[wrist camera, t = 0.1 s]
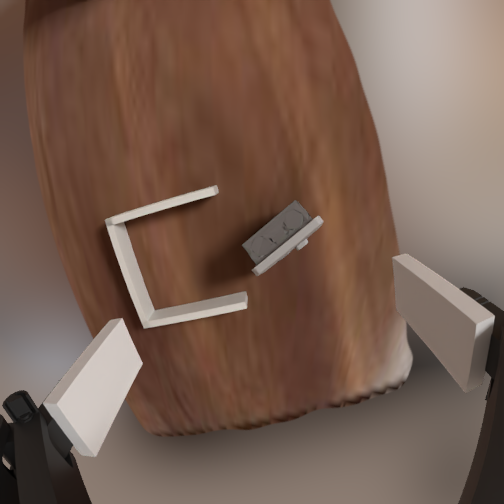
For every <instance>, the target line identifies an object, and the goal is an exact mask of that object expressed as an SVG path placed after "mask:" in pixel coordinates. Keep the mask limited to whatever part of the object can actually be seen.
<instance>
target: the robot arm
mask: <svg viewBox="0 0 504 504" xmlns="http://www.w3.org/2000/svg"><path fill="white" fill-rule="evenodd" d="M392 260H393V271H394V283H395V297H396V310H397V311H398V312H399V314H400V315H401V316H402V317H403V318H404V319H405V320H406V322H407V323H408V324H409V325H410V326H411V327H412V329H413V330H414V331H415V332H416V333H417V334H418V336H419V337H420V338H421V339H422V340H423V341H424V342H425V344H426V345H427V346H428V347H429V349H430V350H431V351H432V352H433V353H434V355H435V356H436V357H437V358H438V359H439V361H440V362H441V363H442V364H443V366H444V367H445V368H446V369H447V371H448V372H449V373H450V374H451V376H452V377H453V378H454V379H455V381H456V382H457V383H458V384H459V386H460V387H461V388H462V390H463V391H464V392H468V391H470V390H472V389H474V388H476V387H478V386H480V385H482V383H483V379H484V374H485V371H486V372H487V373H488V374H489V375H490V376H491V381H490V384H489V389H488V392H487V395H486V399H485V400H487V403H486V409H485V414H484V418H483V423H482V428H481V432H480V436H479V440H478V444H477V448H476V452H475V455H474V459H473V462H472V465H471V469H470V472H469V475H468V478H467V481H466V484H465V487H464V490H463V493H462V495H461V498H460V501H459V503H458V504H504V311H503V310H501V309H500V308H498V307H497V306H496V305H494V304H493V303H491V302H489V301H488V300H487V299H486V298H484V297H482V296H481V295H480V294H479V293H477V292H475V291H474V290H471V289H467V288H464V287H463V288H461V289H458V288H457V287H455V286H454V285H452V284H451V283H450V282H448V281H447V280H445V279H444V278H442V277H441V276H440V275H438V274H437V273H435V272H434V271H432V270H431V269H429V268H428V267H426V266H425V265H423V264H422V263H420V262H419V261H417V260H416V259H414V258H413V257H411V256H410V255H408V254H402V255H399V256H395V257H392ZM142 364H143V363H142V361H141V359H140V357H139V355H138V353H137V350H136V348H135V346H134V344H133V342H132V339H131V337H130V335H129V333H128V330H127V328H126V326H125V323H124V321H123V319H122V318H120V319H114V320H110V321H109V322H108V323H107V324H106V325H105V327H104V328H103V329H102V330H101V331H100V332H99V334H98V335H97V336H96V337H95V338H94V340H93V341H92V342H91V343H90V344H89V346H88V347H87V348H86V349H85V350H84V352H83V353H82V354H81V355H80V356H79V358H78V359H77V360H76V361H75V363H74V364H73V365H72V366H71V368H70V369H69V370H68V372H67V373H66V374H65V375H64V376H63V377H62V378H61V380H60V381H59V382H58V384H57V385H56V386H55V387H54V389H53V390H52V392H51V393H50V394H49V395H48V397H47V398H46V399H45V400H44V402H43V403H42V404H41V405H40V407H39V408H37V406H36V405H35V403H34V402H33V400H32V399H31V397H30V396H29V394H28V392H26V391H24V390H23V391H18V392H15V393H13V394H11V395H10V396H9V397H8V398H6V400H5V401H4V402H3V405H2V406H3V408H4V409H5V410H6V412H7V413H8V415H9V416H10V418H11V419H12V420H13V422H14V423H7V422H6V420H5V419H4V417H3V416H2V415H0V504H92V503H91V501H90V498H89V495H88V493H87V490H86V488H85V485H84V483H83V480H82V477H81V475H80V471H79V469H78V466H77V463H76V460H75V457H74V456H73V454H72V453H71V452H70V450H71V448H72V446H74V447H75V448H76V449H77V451H78V452H79V453H80V454H81V455H84V456H93V457H96V456H97V454H98V451H99V449H100V447H101V445H102V443H103V441H104V439H105V437H106V435H107V433H108V431H109V429H110V427H111V425H112V423H113V421H114V419H115V416H116V415H117V413H118V411H119V409H120V407H121V405H122V403H123V401H124V399H125V397H126V395H127V393H128V391H129V389H130V387H131V385H132V383H133V381H134V379H135V377H136V375H137V373H138V371H139V370H140V368H141V366H142ZM2 457H4V458H5V460H6V461H7V462H8V463H9V464H10V465H11V467H10V470H9V469H8V468H7V467H6V466H5V465H4V464H3V462H2Z"/></svg>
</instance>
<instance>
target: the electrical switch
mask: <svg viewBox="0 0 504 504" xmlns="http://www.w3.org/2000/svg"><path fill="white" fill-rule="evenodd" d="M322 223H323V220H322V219H321V217H320V216H317V217H316V218H314V219H312V218H311V217H310V215H309V214H308V213H307V211H306V210H305V209H304V208H303V207H302V206H301V205H300V204H299V203H298V202H296V200H295V201H294V202H293V203H291V204H290V205H289V206H288V207H286V208H285V209H284V210H283V211H282V212H280V213H279V214H278V215H277V216H276V217H275V218H273V219H272V220H271V221H270V222H269V223H267V224H266V225H265V226H264V227H263V228H261V229H260V230H259V231H258V232H257V233H255V234H254V235H253V236H252V237H251V238H249V239H248V240H247V241H246V242H245V243H244V244H242V246H243V247H244V249H245V250H246V251H247V252H248V254H249V255H250V257H251V259H252V260H253V261H254V262H255V264H256V265H257V266H256V267H255V268H254V269H252V271H253V272H254V274H255V275H256V276H258V275H260V274H262V273H264V272H265V271H266V270H268V269H269V268H270V267H272V266H273V265H274V264H276V263H277V262H278V261H280V260H281V259H283V258H284V257H285V256H286V255H287V254H289V253H290V252H291V251H292V250H293V249H294V248H296V249H297V251H298V250H300V249H301V248H302V247H304V246H305V245H306V244H307V243H308V240H307V239H306V238H308V237H309V236H310V235H311V234H312V233H314V232H315V231H316V230H317V229H318V228H320V226H321V225H322Z"/></svg>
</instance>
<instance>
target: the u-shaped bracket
mask: <svg viewBox="0 0 504 504" xmlns="http://www.w3.org/2000/svg"><path fill="white" fill-rule="evenodd" d="M217 193H219V191H218V187H217V185H215V186H211V187H207V188H204V189H200V190H197V191H193V192H189V193H186V194H183V195H179V196H176V197H172V198H169V199H166V200H162V201H159V202H156V203H152V204H149V205H146V206H143V207H140V208H136V209H133V210H130V211H127V212H124V213H121V214H118V215H115V216H113V217H110V218H108V219H105V222H106V226H107V229H108V232H109V235H110V238H111V242H112V245H113V248H114V251H115V254H116V257H117V259H118V262H119V265H120V268H121V271H122V274H123V276H124V279H125V282H126V285H127V287H128V290H129V293H130V295H131V298H132V300H133V303H134V305H135V308H136V310H137V313H138V315H139V318H140V320H141V323H142V325H143V327H144V328H150V327H156V326H161V325H167V324H172V323H178V322H183V321H188V320H193V319H199V318H204V317H209V316H214V315H218V314H223V313H228V312H233V311H238V310H242V309H247V299H248V297H247V294H246V291H245V292H240V293H236V294H231V295H227V296H222V297H217V298H213V299H208V300H203V301H199V302H194V303H189V304H184V305H179V306H174V307H169V308H164V309H159V310H154V308H153V305H152V302H151V300H150V297H149V294H148V292H147V289H146V286H145V284H144V281H143V278H142V275H141V272H140V270H139V267H138V264H137V261H136V258H135V255H134V252H133V249H132V246H131V243H130V240H129V236H128V233H127V230H126V227H125V224H124V221H127V220H130V219H134V218H137V217H140V216H143V215H147V214H150V213H153V212H157V211H160V210H163V209H167V208H170V207H174V206H177V205H181V204H184V203H188V202H191V201H195V200H198V199H202V198H206V197H209V196H213V195H216V194H217Z"/></svg>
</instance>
